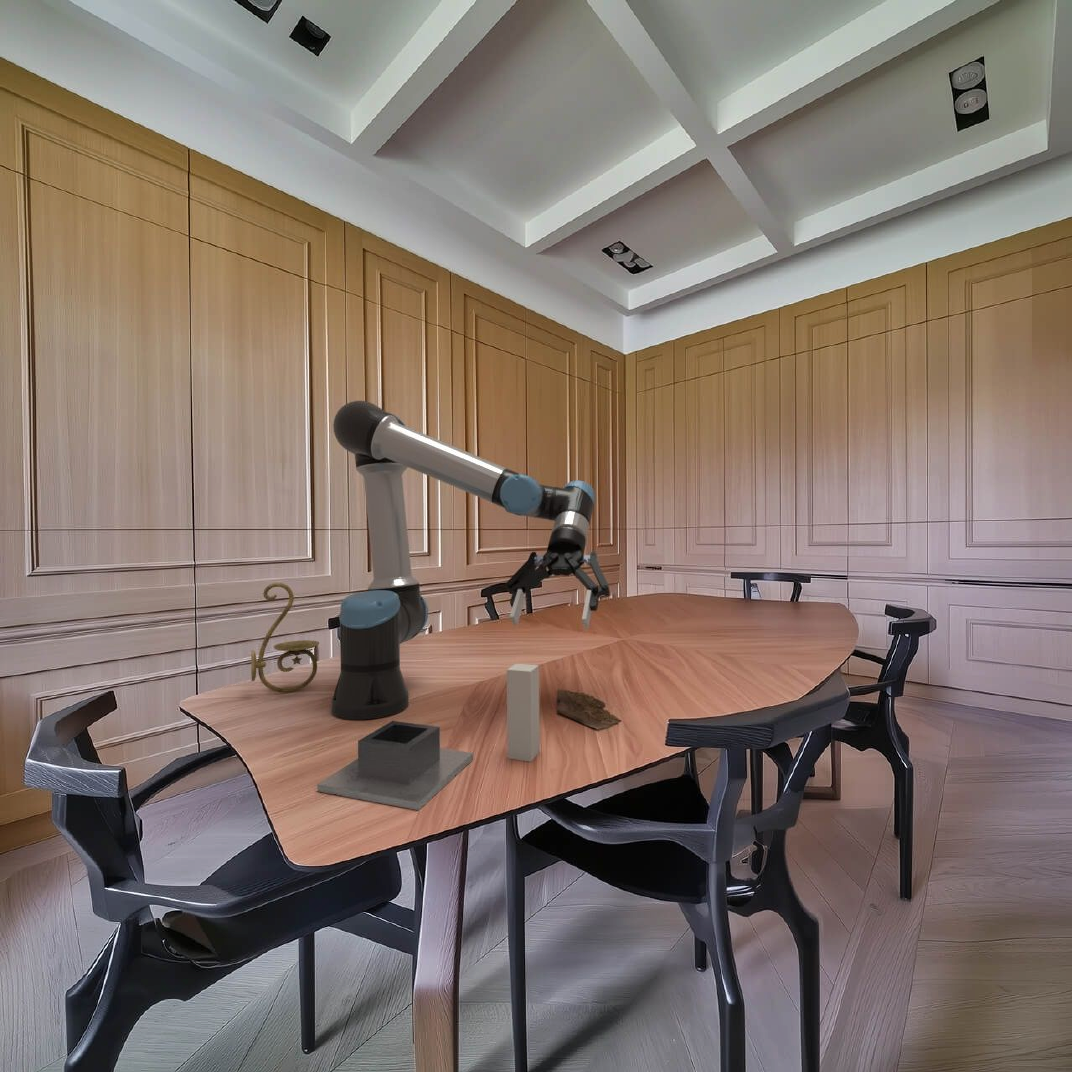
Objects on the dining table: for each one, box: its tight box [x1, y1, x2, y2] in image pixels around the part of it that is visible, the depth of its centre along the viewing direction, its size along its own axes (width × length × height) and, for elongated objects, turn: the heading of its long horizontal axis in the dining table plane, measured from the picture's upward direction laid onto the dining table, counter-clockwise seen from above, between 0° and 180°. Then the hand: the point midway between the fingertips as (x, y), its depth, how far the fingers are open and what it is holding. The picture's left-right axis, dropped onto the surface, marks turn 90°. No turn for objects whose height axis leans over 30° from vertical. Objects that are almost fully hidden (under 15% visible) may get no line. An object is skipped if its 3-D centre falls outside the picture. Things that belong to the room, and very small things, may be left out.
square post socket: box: [316, 720, 474, 811], centre depth 76 cm, size 16×16×6 cm
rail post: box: [506, 663, 541, 763], centre depth 83 cm, size 4×4×14 cm
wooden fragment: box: [556, 688, 622, 732], centre depth 105 cm, size 26×11×1 cm, turn 11°
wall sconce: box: [250, 582, 320, 693], centre depth 117 cm, size 14×10×25 cm
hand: (548, 622), depth 94 cm, fingers open, 13 cm apart
